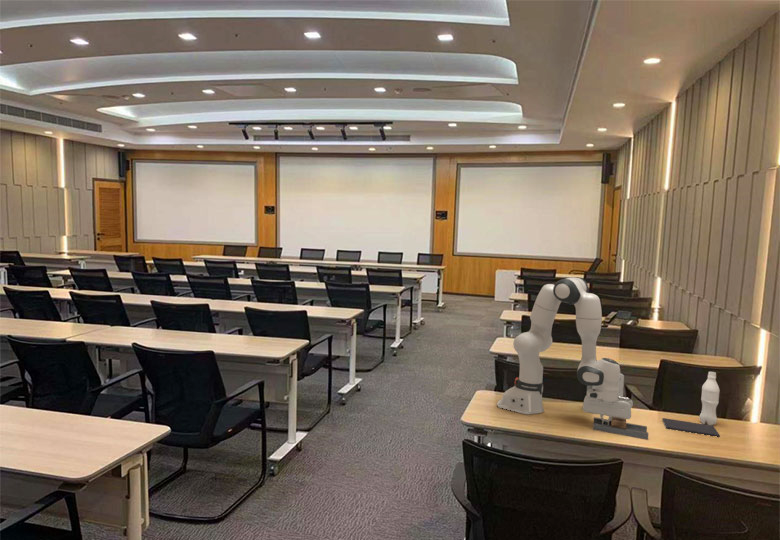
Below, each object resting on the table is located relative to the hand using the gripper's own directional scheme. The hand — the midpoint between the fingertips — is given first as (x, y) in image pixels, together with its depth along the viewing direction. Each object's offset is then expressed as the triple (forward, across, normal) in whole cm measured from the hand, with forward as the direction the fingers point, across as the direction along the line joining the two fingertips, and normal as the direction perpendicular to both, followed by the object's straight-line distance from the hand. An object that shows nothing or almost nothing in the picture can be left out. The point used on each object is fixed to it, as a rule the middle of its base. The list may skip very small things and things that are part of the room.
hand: (605, 424), depth 227 cm
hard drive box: (+2, +1, -24) cm, 24 cm away
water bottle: (+2, -45, -33) cm, 56 cm away
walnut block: (+2, -5, 0) cm, 6 cm away
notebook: (+2, -36, -21) cm, 42 cm away
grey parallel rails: (+2, -6, 0) cm, 6 cm away
